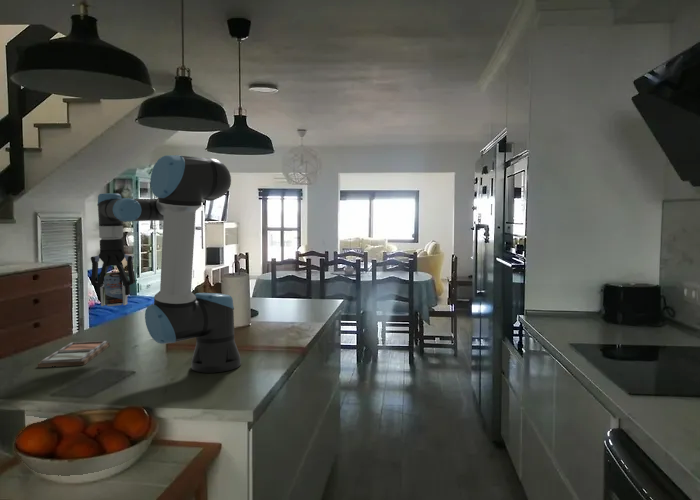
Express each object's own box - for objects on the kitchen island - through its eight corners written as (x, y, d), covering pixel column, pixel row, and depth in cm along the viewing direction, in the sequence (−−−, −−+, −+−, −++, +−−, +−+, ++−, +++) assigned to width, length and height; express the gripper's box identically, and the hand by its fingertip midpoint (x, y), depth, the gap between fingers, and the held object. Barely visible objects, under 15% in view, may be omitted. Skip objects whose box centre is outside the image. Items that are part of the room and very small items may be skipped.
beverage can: (107, 308, 180) (106, 273, 179) (102, 306, 185) (100, 271, 184) (127, 306, 183) (125, 271, 183) (120, 303, 189) (119, 270, 188)
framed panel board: (84, 365, 172) (83, 358, 172) (37, 367, 170) (37, 361, 170) (109, 345, 197) (109, 340, 197) (69, 347, 196) (69, 342, 196)
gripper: (143, 237, 188) (146, 302, 189) (85, 238, 185) (88, 304, 187) (137, 238, 180) (140, 305, 182) (77, 239, 178) (80, 307, 179)
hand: (114, 304), depth 184 cm, fingers closed on beverage can, 6 cm apart
